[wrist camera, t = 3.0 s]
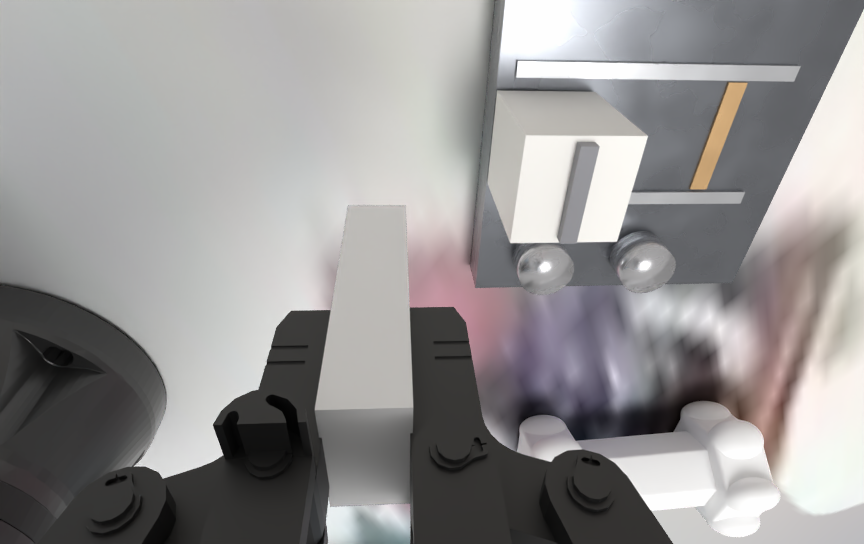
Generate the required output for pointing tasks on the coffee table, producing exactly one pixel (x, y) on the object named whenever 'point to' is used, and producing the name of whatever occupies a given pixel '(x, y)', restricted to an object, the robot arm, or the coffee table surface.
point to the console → (665, 126)
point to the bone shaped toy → (680, 464)
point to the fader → (562, 166)
